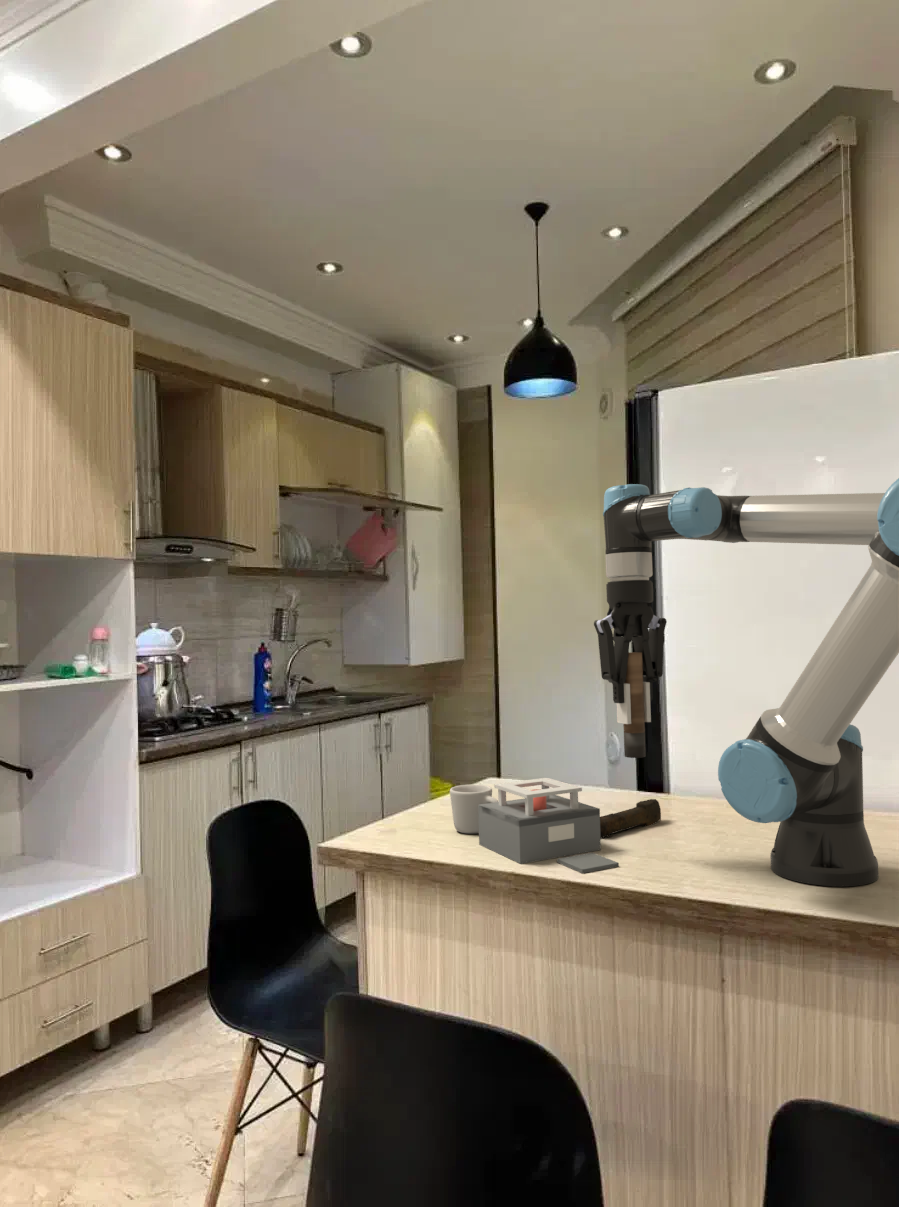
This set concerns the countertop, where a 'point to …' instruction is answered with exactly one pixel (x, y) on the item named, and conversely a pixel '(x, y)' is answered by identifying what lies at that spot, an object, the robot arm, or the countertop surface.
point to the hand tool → (631, 817)
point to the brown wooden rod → (635, 708)
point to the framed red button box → (539, 822)
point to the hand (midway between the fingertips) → (634, 721)
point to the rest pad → (587, 862)
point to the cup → (469, 806)
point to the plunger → (539, 802)
